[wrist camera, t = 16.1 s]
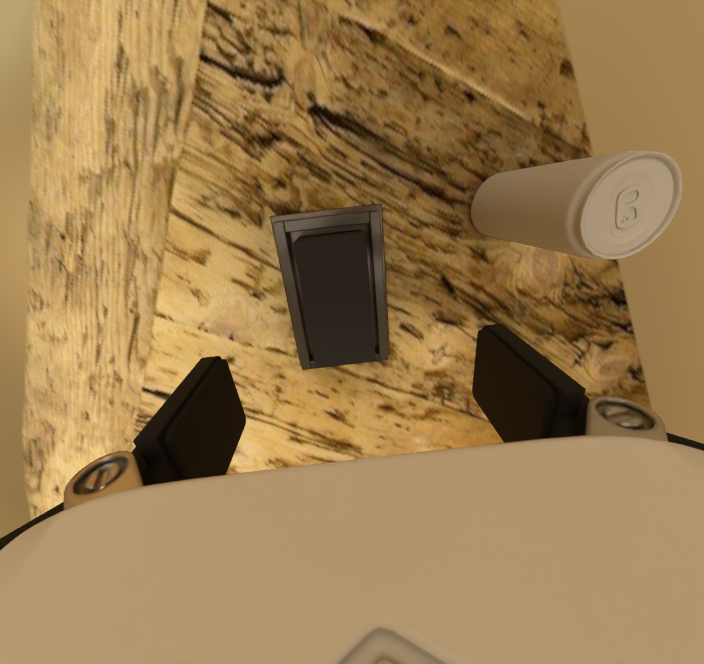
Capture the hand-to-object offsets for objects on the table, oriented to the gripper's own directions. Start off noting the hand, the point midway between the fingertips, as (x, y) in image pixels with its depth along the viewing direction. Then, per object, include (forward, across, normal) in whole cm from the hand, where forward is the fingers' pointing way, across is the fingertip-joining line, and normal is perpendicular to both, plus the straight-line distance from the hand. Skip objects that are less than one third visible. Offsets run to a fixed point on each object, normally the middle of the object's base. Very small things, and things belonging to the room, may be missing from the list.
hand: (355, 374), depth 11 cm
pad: (+15, +1, +2) cm, 15 cm away
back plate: (+16, +1, +2) cm, 16 cm away
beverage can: (+17, -13, -4) cm, 22 cm away
